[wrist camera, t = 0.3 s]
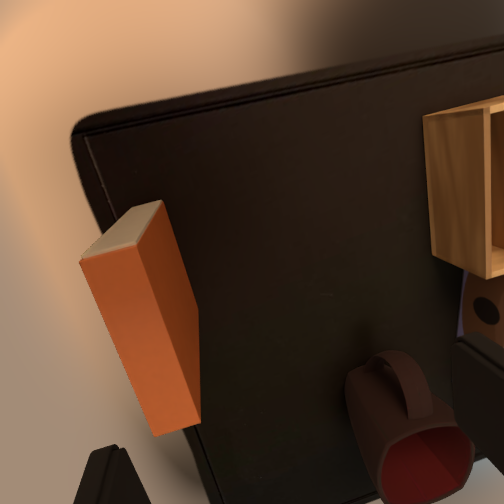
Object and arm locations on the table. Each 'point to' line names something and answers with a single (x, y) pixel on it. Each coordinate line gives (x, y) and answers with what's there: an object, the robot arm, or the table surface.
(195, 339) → the book
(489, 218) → the book rack
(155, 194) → the table surface
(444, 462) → the cup
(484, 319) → the cereal box
